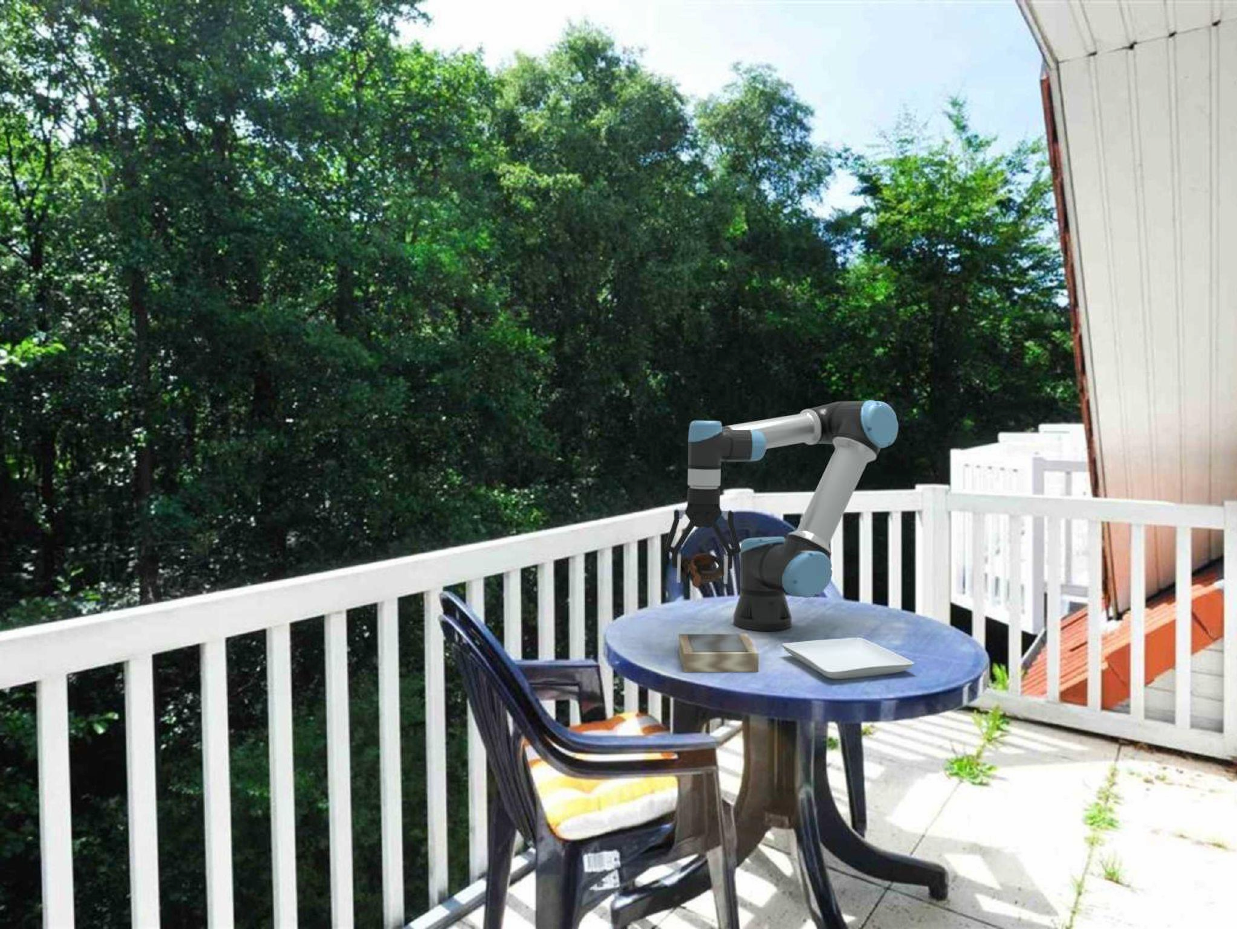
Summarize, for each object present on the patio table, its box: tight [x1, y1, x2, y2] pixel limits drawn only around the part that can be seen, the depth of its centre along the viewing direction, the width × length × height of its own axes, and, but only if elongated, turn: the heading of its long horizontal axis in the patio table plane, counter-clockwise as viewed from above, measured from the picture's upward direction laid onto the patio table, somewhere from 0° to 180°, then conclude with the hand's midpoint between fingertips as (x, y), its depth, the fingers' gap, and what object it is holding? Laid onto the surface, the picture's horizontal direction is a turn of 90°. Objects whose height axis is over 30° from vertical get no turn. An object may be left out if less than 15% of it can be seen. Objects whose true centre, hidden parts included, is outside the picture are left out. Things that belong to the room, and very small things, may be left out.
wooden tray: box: [677, 633, 760, 673], centre depth 187 cm, size 16×16×4 cm
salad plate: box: [781, 637, 915, 680], centre depth 183 cm, size 21×21×3 cm
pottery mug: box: [680, 552, 724, 589], centre depth 195 cm, size 12×10×8 cm
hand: (701, 582), depth 194 cm, fingers closed on pottery mug, 10 cm apart
